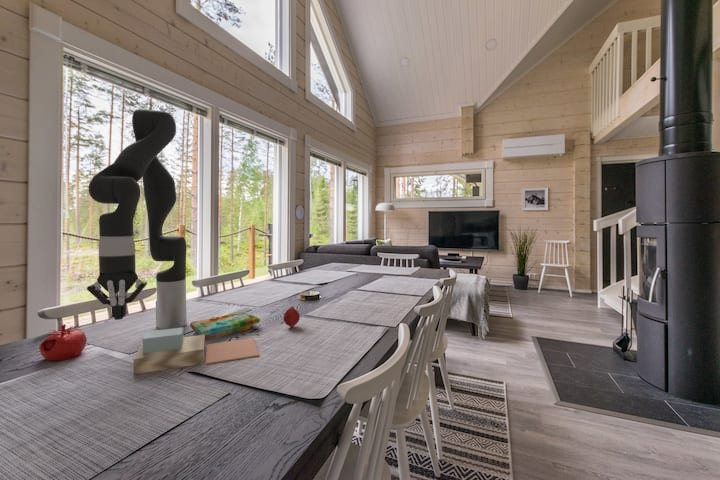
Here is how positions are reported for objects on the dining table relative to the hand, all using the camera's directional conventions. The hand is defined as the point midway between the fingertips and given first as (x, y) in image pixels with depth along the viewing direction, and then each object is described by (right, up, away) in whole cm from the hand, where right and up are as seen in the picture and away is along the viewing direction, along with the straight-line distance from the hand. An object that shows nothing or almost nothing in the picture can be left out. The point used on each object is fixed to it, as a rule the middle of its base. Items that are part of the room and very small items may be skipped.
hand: (119, 318), depth 83 cm
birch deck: (+11, -13, +6) cm, 18 cm away
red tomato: (-21, -13, +7) cm, 26 cm away
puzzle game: (+16, -12, +30) cm, 36 cm away
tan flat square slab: (+25, -13, +12) cm, 31 cm away
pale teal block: (+9, -7, +5) cm, 12 cm away
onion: (+38, -12, +34) cm, 52 cm away
